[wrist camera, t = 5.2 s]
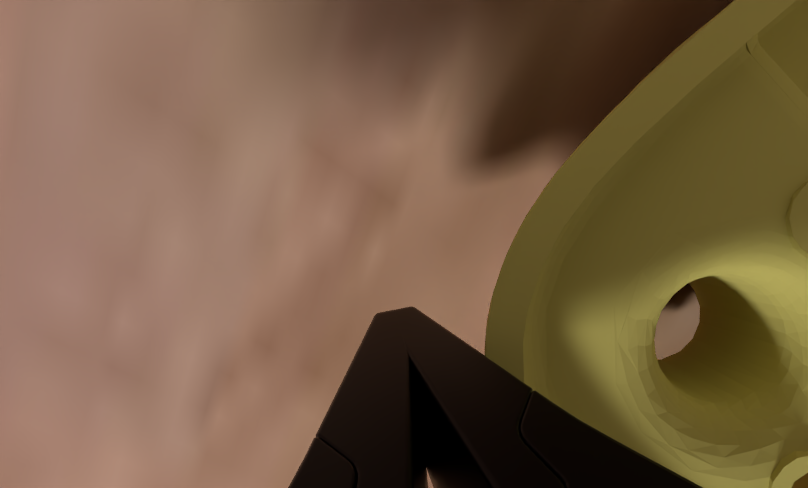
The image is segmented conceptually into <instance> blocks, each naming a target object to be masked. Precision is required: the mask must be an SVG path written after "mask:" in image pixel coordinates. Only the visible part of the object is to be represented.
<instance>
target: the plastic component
mask: <svg viewBox="0 0 808 488" xmlns="http://www.w3.org/2000/svg"><path fill="white" fill-rule="evenodd" d="M687 283H689V284H690V285H691V287H692V288H693V289H694V291H695V294H696V296H697V299H698V302H699V305H700V323H699V325H698V327H697V330H696V332H695V335H694V337H693V339H692V340H691V341H690V342H689V343H688V344H687V345H686V346H685V347H684V348H683V349H682V350H681V351H680V352H678V353H676V354H673V355H671V356H669V357H666V358H664V359H662V360H657V357H656V354H655V345H654V337H655V330H656V324H657V322H658V319H659V316H660V313H661V311H662V309H663V308H664V307H665V305H666V304H667V303H668V301H669V300H670V299H671V297H672V296H673V295H674V294H675V293H676V292H677V291H679V290H680V289H681V288H682V287H684V286H685V285H686V284H687ZM485 356H486V357H487V358H489V359H490V360H492V361H493V362H495V363H496V364H498V365H499V366H500V367H502V368H503V369H505V370H506V371H508V372H509V373H511V374H512V375H514V376H515V377H516V378H518V379H519V380H521V381H522V382H524V383H525V384H527V385H528V386H530V387H531V388H532V389H533V391H537V392H539V393H540V394H542V395H543V396H544V397H546V398H547V399H549V400H550V401H552V402H553V403H555V404H556V405H558V406H559V407H561V408H563V409H564V410H566V411H567V412H569V413H570V414H572V415H573V416H575V417H576V418H578V419H580V420H581V421H583V422H585V423H587V424H588V425H590V426H592V427H594V428H595V429H597V430H599V431H600V432H602V433H604V434H606V435H607V436H609V437H611V438H613V439H614V440H616V441H618V442H620V443H622V444H624V445H626V446H627V447H629V448H631V449H633V450H635V451H637V452H638V453H640V454H642V455H644V456H646V457H648V458H649V459H651V460H653V461H655V462H657V463H659V464H660V465H662V466H664V467H666V468H668V469H670V470H672V471H673V472H675V473H677V474H679V475H681V476H683V477H684V478H686V479H688V480H690V481H692V482H694V483H695V484H697V485H699V486H701V487H703V488H808V0H734V1H733V2H731V3H730V4H729V5H728V6H727V7H725V8H724V9H723V10H722V11H721V12H720V13H718V14H717V15H716V16H715V17H714V18H712V19H711V20H710V21H709V22H707V23H706V24H705V25H704V26H702V27H701V28H700V29H699V30H697V31H696V32H695V33H694V34H693V35H691V36H690V37H689V38H688V39H687V40H685V41H684V42H683V43H682V44H681V45H680V46H678V47H677V48H676V49H675V50H674V51H673V52H672V53H671V54H670V55H669V56H667V57H666V58H665V59H664V60H663V61H662V62H661V63H660V64H659V65H658V66H657V67H656V68H655V69H654V70H652V71H651V72H650V73H649V74H648V75H647V76H646V77H645V78H644V79H643V80H642V81H641V82H640V83H639V84H638V85H637V86H636V87H635V88H634V89H633V90H632V91H631V92H630V93H629V94H628V95H627V96H626V97H625V98H624V99H623V100H622V101H621V102H620V103H619V104H618V105H617V106H616V107H615V108H614V109H613V110H612V111H611V112H610V113H609V114H608V115H607V116H606V117H605V118H604V119H603V120H602V122H601V123H600V124H599V125H598V126H597V127H596V128H595V129H594V130H593V131H592V132H591V133H590V134H589V135H588V136H587V137H586V139H585V140H584V141H583V142H582V143H581V144H580V145H579V146H578V147H577V148H576V150H575V151H574V152H573V153H572V154H571V156H570V157H569V158H568V159H567V160H566V162H565V163H564V164H563V165H562V166H561V168H560V169H559V170H558V171H557V172H556V174H555V175H554V176H553V178H552V179H551V180H550V182H549V183H548V184H547V186H546V187H545V188H544V190H543V191H542V193H541V194H540V196H539V197H538V199H537V200H536V202H535V203H534V205H533V206H532V208H531V209H530V211H529V212H528V214H527V215H526V217H525V219H524V221H523V223H522V224H521V226H520V228H519V230H518V232H517V234H516V236H515V238H514V240H513V242H512V244H511V246H510V248H509V250H508V253H507V255H506V257H505V260H504V263H503V265H502V268H501V271H500V274H499V277H498V280H497V283H496V286H495V289H494V292H493V296H492V300H491V303H490V309H489V314H488V319H487V327H486V339H485Z"/></svg>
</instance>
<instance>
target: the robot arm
mask: <svg viewBox="0 0 808 488" xmlns="http://www.w3.org/2000/svg"><path fill="white" fill-rule="evenodd" d="M426 468H427V470H428V473H429V476H430V479H431V482H432V484H433V487H434V488H703V487H701V486H699V485H697V484H695V483H694V482H692V481H690V480H688V479H686V478H684V477H683V476H681V475H679V474H677V473H675V472H673V471H672V470H670V469H668V468H666V467H664V466H662V465H660V464H659V463H657V462H655V461H653V460H651V459H649V458H648V457H646V456H644V455H642V454H640V453H638V452H637V451H635V450H633V449H631V448H629V447H627V446H626V445H624V444H622V443H620V442H618V441H616V440H614V439H613V438H611V437H609V436H607V435H606V434H604V433H602V432H600V431H599V430H597V429H595V428H594V427H592V426H590V425H588V424H587V423H585V422H583V421H581V420H580V419H578V418H576V417H575V416H573V415H572V414H570V413H569V412H567V411H566V410H564V409H563V408H561V407H559V406H558V405H556V404H555V403H553V402H552V401H550V400H549V399H547V398H546V397H544V396H543V395H542V394H540V393H539V392H537V391H533V389H532V388H531V387H530V386H528V385H527V384H525V383H524V382H522V381H521V380H519V379H518V378H516V377H515V376H514V375H512V374H511V373H509V372H508V371H506V370H505V369H503V368H502V367H500V366H499V365H498V364H496V363H495V362H493V361H492V360H490V359H489V358H487V357H486V356H484V355H483V354H482V353H480V352H479V351H477V350H476V349H474V348H473V347H471V346H470V345H468V344H467V343H466V342H464V341H463V340H461V339H460V338H458V337H457V336H455V335H454V334H452V333H451V332H450V331H448V330H447V329H445V328H444V327H442V326H441V325H439V324H438V323H436V322H435V321H434V320H432V319H431V318H429V317H428V316H426V315H425V314H423V313H422V312H420V311H419V310H418V309H416V308H414V307H406V308H401V309H396V310H391V311H386V312H381V313H377V314H376V315H375V316H374V318H373V320H372V322H371V324H370V326H369V328H368V330H367V332H366V334H365V336H364V338H363V341H362V343H361V345H360V347H359V349H358V351H357V353H356V355H355V357H354V359H353V361H352V363H351V365H350V367H349V369H348V371H347V373H346V375H345V377H344V379H343V381H342V383H341V385H340V387H339V389H338V391H337V393H336V395H335V397H334V399H333V401H332V403H331V405H330V407H329V410H328V412H327V414H326V416H325V418H324V420H323V422H322V424H321V426H320V428H319V430H318V432H317V434H316V438H314V439H313V441H312V443H311V446H310V448H309V450H308V452H307V454H306V456H305V458H304V460H303V462H302V463H301V465H300V467H299V469H298V471H297V473H296V475H295V476H294V478H293V480H292V482H291V484H290V486H289V487H288V488H428V481H427V470H426Z"/></svg>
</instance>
